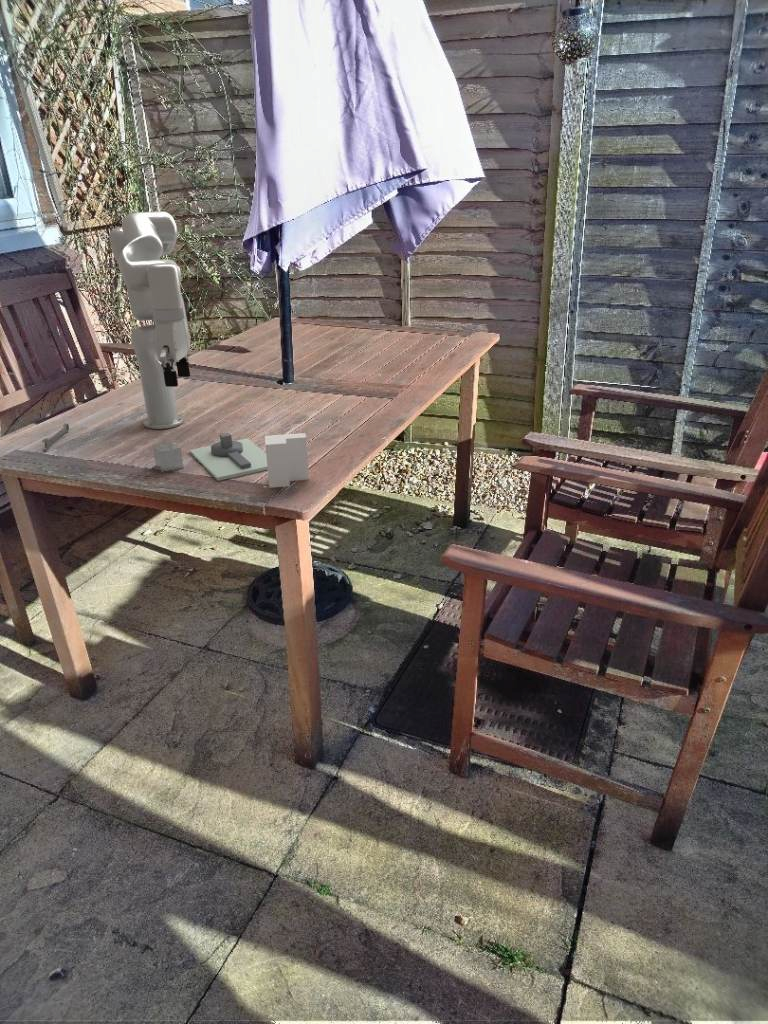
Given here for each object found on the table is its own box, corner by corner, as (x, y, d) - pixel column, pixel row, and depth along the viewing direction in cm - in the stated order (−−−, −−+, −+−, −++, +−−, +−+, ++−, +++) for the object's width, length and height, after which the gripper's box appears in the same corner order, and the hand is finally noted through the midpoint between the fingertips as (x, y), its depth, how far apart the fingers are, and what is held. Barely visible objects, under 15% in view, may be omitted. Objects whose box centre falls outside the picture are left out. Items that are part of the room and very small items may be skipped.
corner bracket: (269, 487, 184) (265, 444, 179) (267, 471, 194) (264, 429, 189) (310, 484, 186) (307, 441, 181) (306, 468, 196) (303, 427, 191)
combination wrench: (64, 420, 225) (38, 441, 207) (68, 420, 225) (42, 441, 207) (67, 432, 227) (41, 453, 208) (71, 432, 227) (45, 453, 208)
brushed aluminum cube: (156, 465, 199) (152, 445, 196) (177, 461, 202) (174, 441, 199) (162, 472, 194) (158, 452, 192) (183, 467, 197) (180, 447, 194)
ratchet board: (190, 453, 207) (187, 433, 204) (247, 441, 215) (245, 422, 213) (217, 481, 189) (215, 459, 186) (279, 467, 197) (278, 446, 194)
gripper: (166, 309, 187) (175, 373, 194) (141, 321, 171) (152, 390, 178) (193, 309, 186) (202, 373, 193) (171, 321, 170) (181, 390, 178)
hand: (178, 381), depth 186 cm, fingers open, 9 cm apart
